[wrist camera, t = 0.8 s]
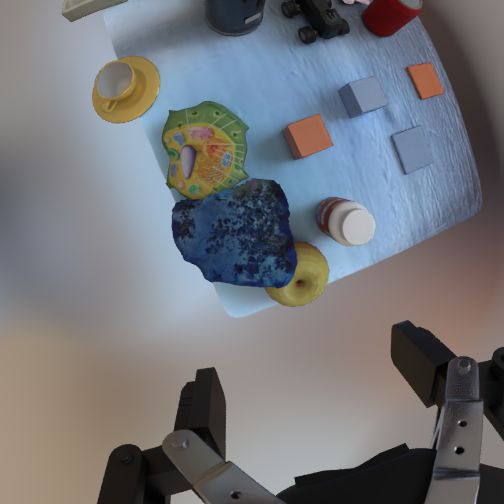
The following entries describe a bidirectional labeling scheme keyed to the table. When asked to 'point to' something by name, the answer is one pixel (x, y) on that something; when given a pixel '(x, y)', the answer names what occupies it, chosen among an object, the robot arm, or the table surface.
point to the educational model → (204, 150)
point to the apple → (303, 278)
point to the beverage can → (390, 15)
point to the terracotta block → (307, 136)
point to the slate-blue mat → (413, 149)
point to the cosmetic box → (85, 7)
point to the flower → (351, 0)
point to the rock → (238, 235)
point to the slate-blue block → (362, 96)
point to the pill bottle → (345, 221)
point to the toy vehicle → (317, 19)
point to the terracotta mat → (425, 80)
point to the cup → (125, 89)
